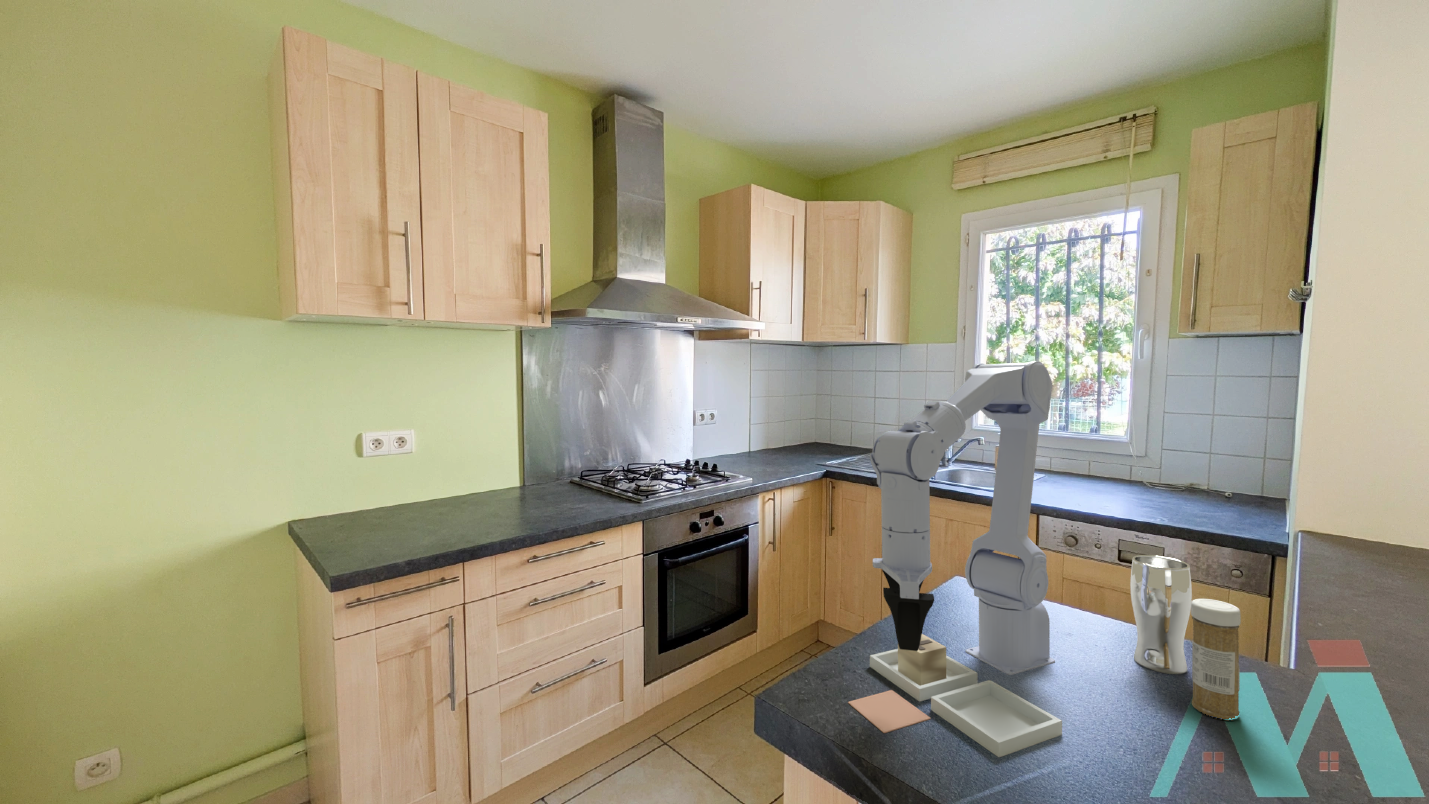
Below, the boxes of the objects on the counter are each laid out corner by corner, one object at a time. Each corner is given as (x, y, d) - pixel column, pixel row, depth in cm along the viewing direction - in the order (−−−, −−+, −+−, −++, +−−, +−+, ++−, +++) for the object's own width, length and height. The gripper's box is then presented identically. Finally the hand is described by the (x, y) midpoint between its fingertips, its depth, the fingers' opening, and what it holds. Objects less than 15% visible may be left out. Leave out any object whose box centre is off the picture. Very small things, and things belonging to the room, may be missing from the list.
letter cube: (922, 664, 82) (922, 633, 82) (946, 679, 78) (946, 646, 78) (898, 671, 80) (897, 639, 80) (920, 686, 76) (920, 652, 76)
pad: (891, 693, 75) (891, 689, 75) (930, 722, 69) (930, 717, 69) (848, 705, 72) (847, 701, 72) (884, 736, 66) (884, 732, 66)
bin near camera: (989, 694, 74) (989, 679, 74) (1062, 737, 65) (1062, 720, 65) (931, 712, 71) (930, 696, 71) (998, 760, 61) (998, 742, 61)
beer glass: (1138, 671, 80) (1138, 566, 80) (1124, 649, 86) (1124, 552, 86) (1200, 680, 77) (1200, 571, 77) (1180, 657, 84) (1180, 557, 83)
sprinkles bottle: (1245, 714, 69) (1246, 605, 69) (1232, 726, 67) (1233, 614, 66) (1197, 697, 73) (1198, 594, 73) (1184, 708, 71) (1185, 602, 70)
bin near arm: (923, 655, 86) (923, 642, 85) (977, 687, 76) (977, 672, 76) (869, 669, 82) (869, 655, 82) (919, 704, 72) (919, 689, 72)
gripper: (872, 513, 78) (873, 609, 79) (872, 541, 65) (873, 658, 65) (926, 515, 77) (927, 614, 77) (938, 544, 63) (939, 665, 63)
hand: (906, 635), depth 71 cm, fingers open, 7 cm apart
